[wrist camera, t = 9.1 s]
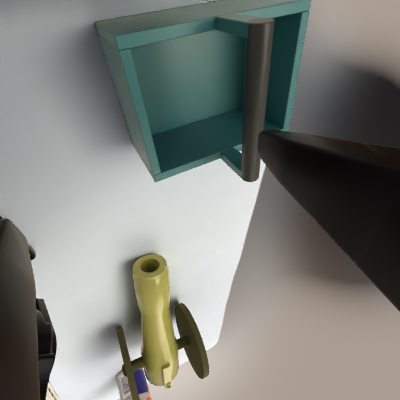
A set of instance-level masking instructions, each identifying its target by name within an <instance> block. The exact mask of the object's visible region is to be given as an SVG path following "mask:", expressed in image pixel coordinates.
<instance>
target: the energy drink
mask: <svg viewBox="0 0 400 400" xmlns="http://www.w3.org/2000/svg"><path fill="white" fill-rule="evenodd" d="M133 373H134V377H135V382H136V386H137V390H138V394H139V398H140V400H151V397H150V393H149V389H148V386H147V382H146V378H145V375H144V371H143V368H141V369H139V370H137V371H135V372H133ZM117 383H118V388H119V393H120V398H121V400H132V396H131V392H130V388H129V384H128V379H127V376H126V377H125V376H124V375H123V371H121V372H120V373H119V374H118V376H117Z"/></svg>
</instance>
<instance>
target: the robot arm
mask: <svg viewBox="0 0 400 400" xmlns="http://www.w3.org/2000/svg"><path fill="white" fill-rule="evenodd" d="M257 151H258V155H259V156H260V158H261V159H262V160H263V162H264V163H265V164H266V166H267V167H268V168H269V170H270V171H271V172H272V174H273V175H274V176H275V178H276V179H277V180H278V181H279V182H280V184H281V185H282V186H283V187H284V188H285V189H286V190H287V191H288V192H289V193H290V194H291V196H292V197H293V198H294V199H295V200H296V201H297V202H298V203H299V204H300V205H301V206H302V207H303V208H304V209H305V210H306V212H307V213H308V214H309V215H310V216H311V217H312V218H313V219H314V220H315V221H316V222H317V223H318V224H319V226H320V227H321V228H322V229H323V230H324V231H325V232H326V233H327V234H328V235H329V236H330V237H331V238H332V239H333V241H334V242H335V243H336V244H337V245H338V246H339V247H340V248H341V249H342V250H343V251H344V252H345V253H346V254H347V256H349V258H350V259H351V260H352V261H353V262H355V264H356V265H357V266H358V267H359V268H360V270H361V271H362V272H363V273H364V274H365V275H366V276H367V277H368V278H369V279H370V280H371V281H372V283H373V284H374V285H375V286H376V287H377V288H378V289H379V290H380V291H381V292H382V293H383V294H384V295H385V296H386V298H388V300H389V301H390V302H391V303H392V304H393V305H394V306H395V307H396V308H397V309H398V310H399V311H400V148H394V147H386V146H380V145H373V144H366V143H364V144H363V143H360V142H353V141H346V140H339V139H333V138H326V137H321V136H313V135H308V134H301V133H295V132H288V131H282V130H275V129H267V130H264V131H261V132H260V133H259V138H258V148H257ZM35 256H36V253H35V251H34V250H33V249H32V248H31V247H30V246H29V245H28V244H27V240H26V238H25V236H24V235H23V234H22V233H21V232H20V230H19V229H18V228H17V227H16V226H15V225H14V224H13V223H12V222H11V221H10V220H9V219H3V218H2V217H1V216H0V400H46V393H47V387H48V382H49V376H50V373H51V370H52V368H53V364H54V361H55V355H56V346H57V343H56V335H55V332H54V329H53V326H52V323H51V320H50V317H49V314H48V311H47V308H46V305H45V303H44V300H43V299H36V290H35V281H34V275H33V270H32V264H31V260H33V259H34V258H35Z"/></svg>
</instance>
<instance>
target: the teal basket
mask: <svg viewBox="0 0 400 400" xmlns="http://www.w3.org/2000/svg"><path fill="white" fill-rule="evenodd" d="M310 5H311V0H218V1H212V2H207V3H201V4H195V5H189V6H183V7H178V8H172V9H166V10H160V11H154V12H149V13H143V14H137V15H131V16H125V17H120V18H114V19H108V20H102V21H96V22H95V26H96V29H97V32H98V36H99V39H100V42H101V45H102V48H103V51H104V54H105V58H106V61H107V64H108V67H109V70H110V73H111V77H112V80H113V83H114V86H115V89H116V92H117V95H118V99H119V102H120V105H121V108H122V111H123V114H124V117H125V121H126V124H127V127H128V130H129V133H130V136H131V139H132V143H133V145H134V147H135V149H136V150H137V152H138V154H139V155H140V157H141V159H142V160H143V162H144V164H145V166H146V167H147V169H148V171H149V172H150V174H151V176H152V177H153V179H154V181H155V182H157V181H160V180H163V179H165V178H168V177H171V176H173V175H176V174H179V173H181V172H184V171H187V170H190V169H192V168H195V167H198V166H200V165H203V164H206V163H208V162H211V161H214V160H217V159H219V158H221V159H222V160H223V161H224V162H225V163H226V164H227V165H228V166H229V167H230V168H231V169H232V170H234V171H235V172H236V173H237V174H238V175H239V176H240V177H241V178H242V179H243V180H244V181H247V182H253V181H256V180H257V179H258V178H259V169H260V159H261V158H260V156H259V155H258V151H257V148H258V138H259V133H260V132H261V131H264V130H267V129H275V130H282V131H288V127H289V123H290V117H291V112H292V106H293V100H294V95H295V89H296V83H297V78H298V72H299V67H300V61H301V56H302V50H303V44H304V39H305V33H306V28H307V22H308V16H309V10H310ZM241 150H242V154H241V153H240V152H239V151H241Z"/></svg>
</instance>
